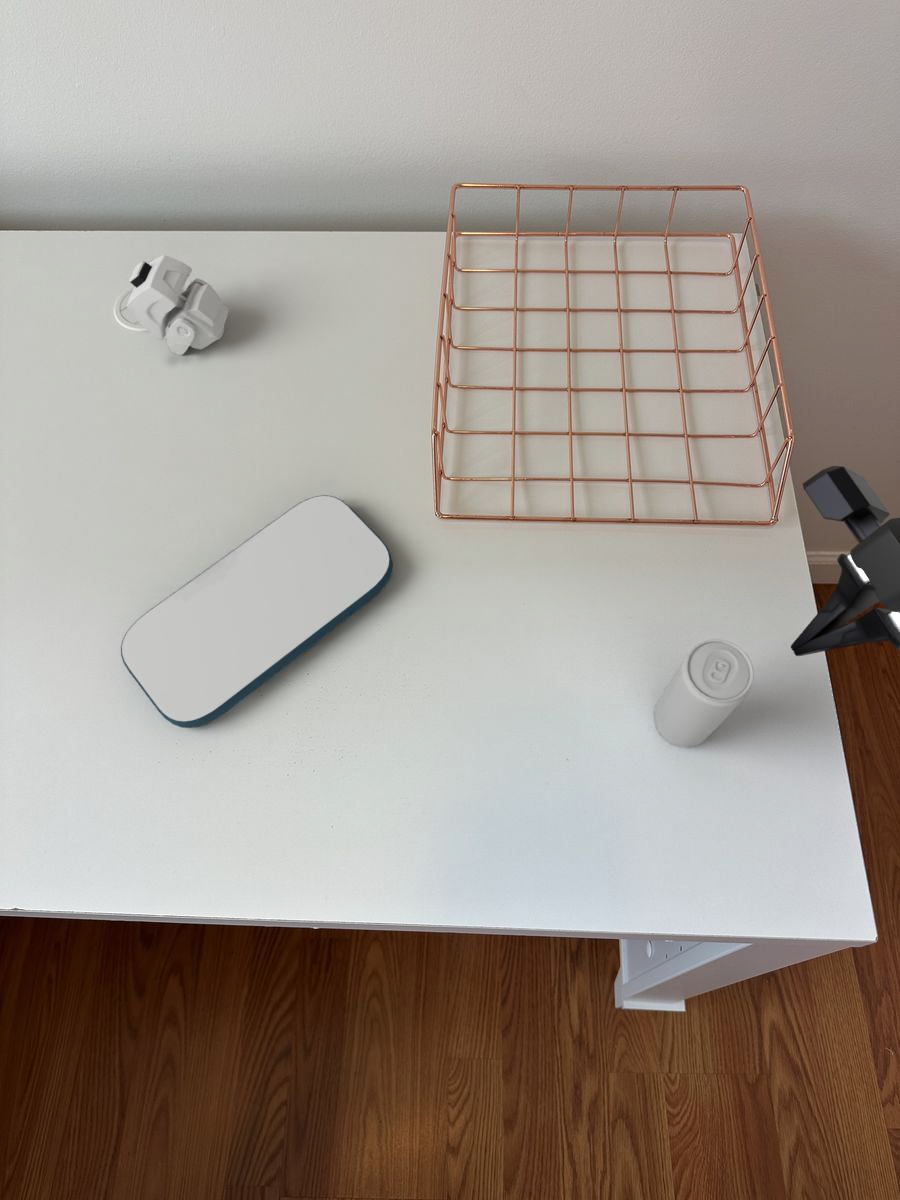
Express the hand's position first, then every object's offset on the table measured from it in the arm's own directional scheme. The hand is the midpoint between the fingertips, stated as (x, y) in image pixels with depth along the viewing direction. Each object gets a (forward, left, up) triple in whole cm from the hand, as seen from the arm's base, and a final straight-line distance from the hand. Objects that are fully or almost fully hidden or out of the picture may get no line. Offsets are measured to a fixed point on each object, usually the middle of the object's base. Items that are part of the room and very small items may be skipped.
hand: (795, 651), depth 61 cm
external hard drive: (+40, -15, -9) cm, 43 cm away
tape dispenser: (+45, -48, -9) cm, 66 cm away
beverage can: (+7, +1, -9) cm, 11 cm away
